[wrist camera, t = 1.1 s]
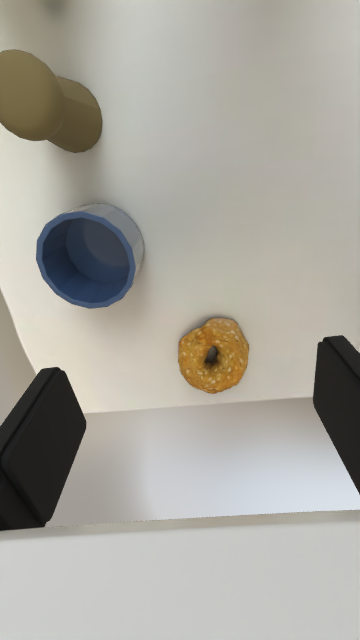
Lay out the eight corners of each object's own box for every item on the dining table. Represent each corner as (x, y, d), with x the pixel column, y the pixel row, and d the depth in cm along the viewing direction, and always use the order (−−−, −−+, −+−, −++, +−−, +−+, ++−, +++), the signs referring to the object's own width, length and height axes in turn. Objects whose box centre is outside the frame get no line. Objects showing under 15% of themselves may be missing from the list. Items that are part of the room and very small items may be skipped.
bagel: (261, 327, 40) (270, 346, 36) (227, 385, 45) (231, 408, 40) (194, 303, 38) (195, 320, 34) (166, 366, 43) (164, 387, 39)
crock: (51, 209, 33) (20, 219, 27) (135, 198, 32) (123, 205, 26) (76, 288, 38) (54, 312, 31) (150, 280, 37) (143, 303, 31)
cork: (45, 149, 30) (-21, 141, 21) (37, 76, 28) (-45, 27, 18) (103, 155, 30) (64, 149, 21) (100, 83, 28) (54, 37, 18)
